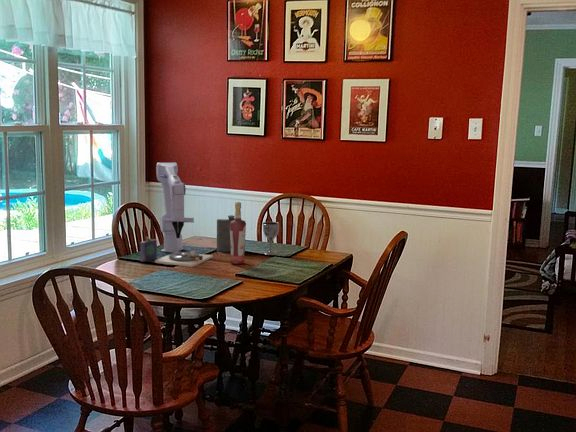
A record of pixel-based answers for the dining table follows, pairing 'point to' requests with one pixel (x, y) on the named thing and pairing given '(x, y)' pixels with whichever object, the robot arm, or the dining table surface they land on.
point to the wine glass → (270, 234)
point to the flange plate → (185, 256)
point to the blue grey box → (148, 249)
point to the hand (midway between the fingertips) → (178, 237)
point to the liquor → (237, 237)
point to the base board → (183, 263)
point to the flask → (224, 234)
